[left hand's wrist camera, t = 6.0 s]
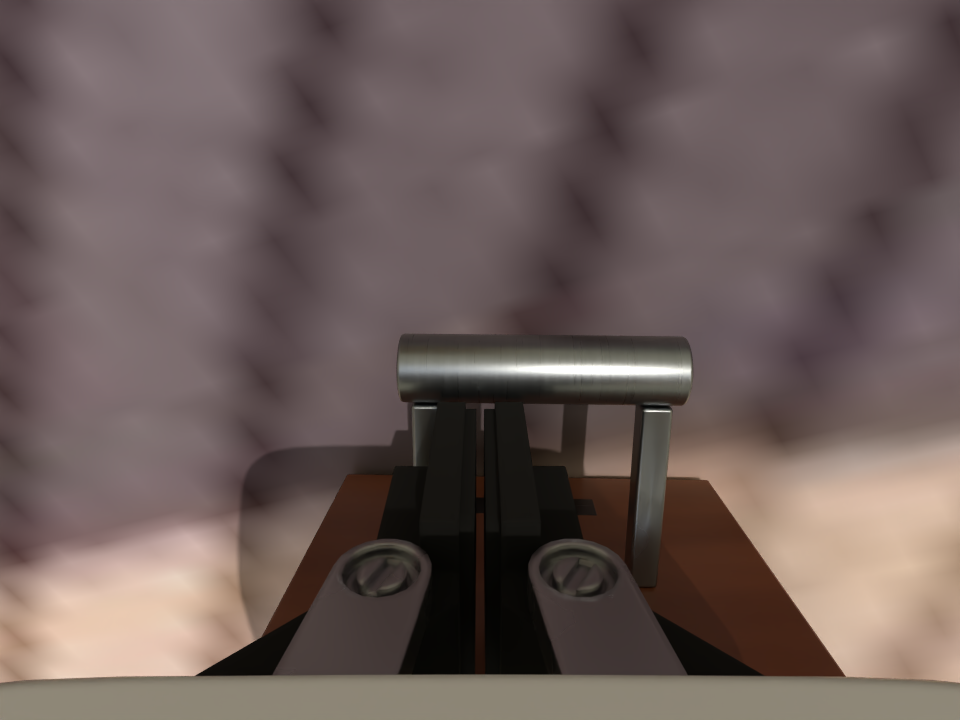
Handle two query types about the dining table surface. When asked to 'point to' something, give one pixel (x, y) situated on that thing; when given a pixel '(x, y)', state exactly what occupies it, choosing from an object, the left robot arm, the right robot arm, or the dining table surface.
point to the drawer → (593, 490)
